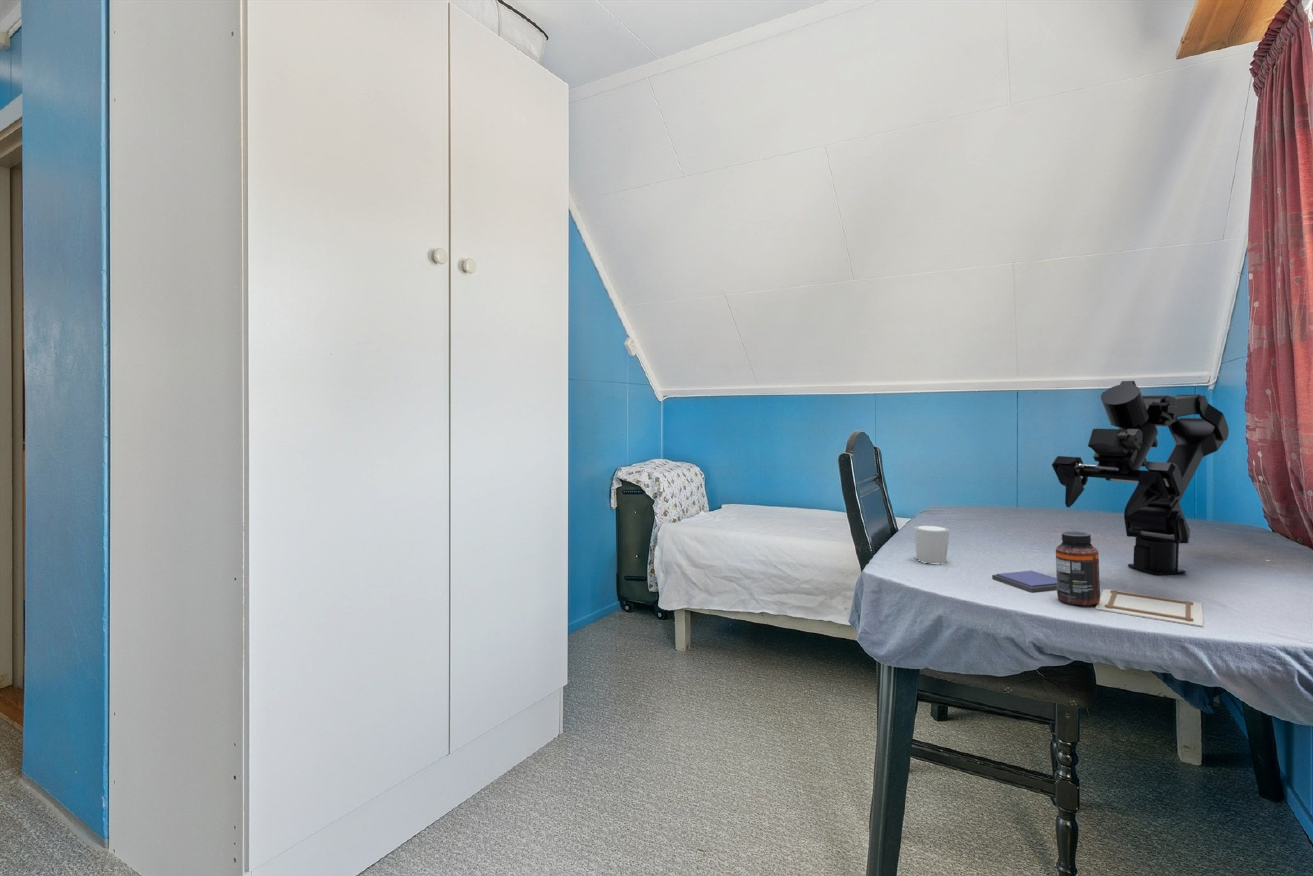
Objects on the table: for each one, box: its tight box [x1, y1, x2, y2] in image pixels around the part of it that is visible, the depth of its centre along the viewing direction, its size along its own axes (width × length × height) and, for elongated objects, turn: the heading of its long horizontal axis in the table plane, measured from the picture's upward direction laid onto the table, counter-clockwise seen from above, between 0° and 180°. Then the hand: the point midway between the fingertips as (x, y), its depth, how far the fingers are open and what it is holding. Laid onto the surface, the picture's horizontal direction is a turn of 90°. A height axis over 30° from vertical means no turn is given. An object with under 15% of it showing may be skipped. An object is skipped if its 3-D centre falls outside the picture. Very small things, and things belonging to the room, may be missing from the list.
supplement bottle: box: [1055, 530, 1101, 606], centre depth 105 cm, size 6×6×11 cm
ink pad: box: [991, 570, 1057, 593], centre depth 116 cm, size 9×9×1 cm
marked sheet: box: [1094, 588, 1204, 628], centre depth 102 cm, size 13×13×1 cm
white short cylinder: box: [913, 524, 951, 564], centre depth 132 cm, size 7×7×7 cm
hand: (1095, 509), depth 109 cm, fingers open, 9 cm apart
